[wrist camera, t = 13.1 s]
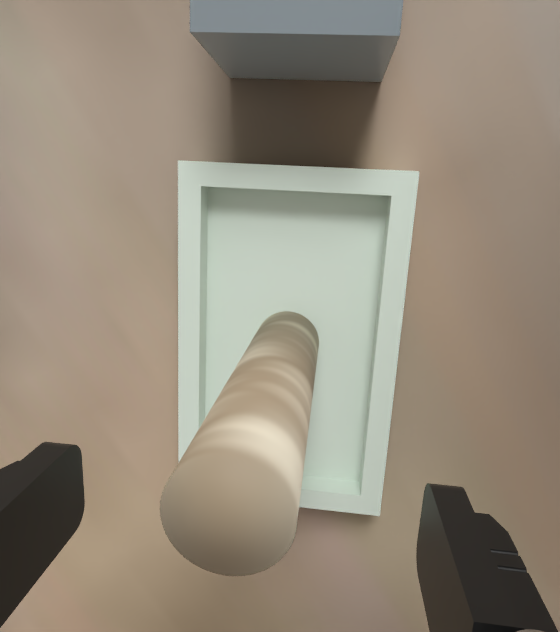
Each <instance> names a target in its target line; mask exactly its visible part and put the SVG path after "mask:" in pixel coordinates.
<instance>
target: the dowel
mask: <svg viewBox="0 0 560 632" xmlns="http://www.w3.org/2000/svg"><path fill="white" fill-rule="evenodd" d="M318 348H319V337H318V333H317V331H316V329H315V327H314V325H313V324H312V323H311V322H310V321H309V320H308V319H307V318H306V317H304V316H303V315H301V314H298V313H295V312H290V311H284V312H278V313H275V314H273V315H271V316H269V317H268V318H267V319H266V320H265V321H264V322H263V323H262V324H261V326H260V327H259V329H258V331H257V332H256V334H255V336H254V337H253V339H252V341H251V343H250V344H249V346H248V348H247V349H246V351H245V353H244V354H243V356H242V358H241V359H240V361H239V363H238V364H237V366H236V368H235V369H234V371H233V373H232V374H231V376H230V378H229V379H228V381H227V383H226V384H225V386H224V388H223V389H222V391H221V393H220V394H219V396H218V398H217V399H216V401H215V403H214V404H213V406H212V408H211V409H210V411H209V413H208V415H207V416H206V418H205V420H204V421H203V423H202V425H201V426H200V428H199V430H198V431H197V433H196V435H195V436H194V438H193V440H192V441H191V443H190V445H189V446H188V448H187V450H186V451H185V453H184V455H183V456H182V458H181V460H180V461H179V463H178V465H177V466H176V468H175V470H174V471H173V473H172V475H171V476H170V478H169V480H168V482H167V483H166V485H165V487H164V490H163V492H162V496H161V501H160V516H161V521H162V525H163V528H164V530H165V533H166V535H167V537H168V538H169V540H170V542H171V543H172V544H173V546H174V547H175V548H176V549H177V550H178V552H179V553H180V554H181V555H183V556H184V557H185V558H186V559H187V560H189V561H190V562H192V563H193V564H195V565H197V566H198V567H200V568H202V569H205V570H207V571H210V572H213V573H216V574H221V575H226V576H245V575H251V574H255V573H258V572H261V571H264V570H266V569H268V568H270V567H271V566H273V565H275V564H276V563H277V562H278V561H279V560H281V559H282V557H283V556H284V555H285V554H286V553H287V551H288V550H289V548H290V547H291V545H292V543H293V541H294V537H295V534H296V528H297V520H298V512H299V503H300V495H301V487H302V479H303V471H304V462H305V454H306V446H307V438H308V430H309V421H310V413H311V405H312V397H313V389H314V380H315V372H316V364H317V356H318Z"/></svg>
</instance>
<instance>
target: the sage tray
mask: <svg viewBox="0 0 560 632" xmlns="http://www.w3.org/2000/svg"><path fill="white" fill-rule="evenodd" d="M418 180H419V171H400V170H378V169H356V168H334V167H311V166H289V165H267V164H245V163H222V162H200V161H178V435H179V461H180V460H181V458H182V456H183V455H184V453H185V451H186V450H187V448H188V446H189V445H190V443H191V441H192V440H193V438H194V436H195V435H196V433H197V431H198V430H199V428H200V426H201V425H202V423H203V421H204V420H205V418H206V416H207V415H208V413H209V411H210V409H211V408H212V406H213V404H214V403H215V401H216V399H217V398H218V396H219V394H220V393H221V391H222V389H223V388H224V386H225V384H226V383H227V381H228V379H229V378H230V376H231V374H232V373H233V371H234V369H235V368H236V366H237V364H238V363H239V361H240V359H241V358H242V356H243V354H244V353H245V351H246V349H247V348H248V346H249V344H250V343H251V341H252V339H253V337H254V336H255V334H256V332H257V331H258V329H259V327H260V326H261V324H262V323H263V322H264V321H265V320H266V319H267V318H268V317H269V316H271V315H273V314H275V313H278V312H284V311H290V312H295V313H298V314H301V315H303V316H304V317H306V318H307V319H308V320H309V321H310V322H311V323H312V324H313V325H314V327H315V329H316V331H317V333H318V337H319V348H318V356H317V364H316V372H315V380H314V389H313V397H312V405H311V413H310V421H309V430H308V438H307V446H306V454H305V462H304V471H303V479H302V487H301V495H300V503H299V507H303V508H312V509H321V510H330V511H338V512H347V513H356V514H365V515H374V516H380V509H381V501H382V492H383V483H384V475H385V466H386V457H387V449H388V440H389V431H390V423H391V414H392V405H393V396H394V388H395V379H396V370H397V362H398V353H399V344H400V336H401V327H402V318H403V310H404V301H405V292H406V284H407V275H408V266H409V258H410V249H411V240H412V232H413V223H414V214H415V206H416V197H417V188H418Z"/></svg>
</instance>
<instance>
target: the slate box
mask: <svg viewBox="0 0 560 632" xmlns="http://www.w3.org/2000/svg"><path fill="white" fill-rule="evenodd" d="M402 7H403V0H190V33H191V34H192V35H193V36H194V37H195V38H196V39H197V41H198V42H199V43H200V44H201V45H202V46H203V48H204V49H205V50H206V51H207V52H208V53H209V54H210V56H211V57H212V58H213V59H214V60H215V61H216V63H217V64H218V65H219V66H220V67H221V68H222V70H223V71H224V72H225V73H226V74H227V75H228V76H229V78H254V79H290V80H327V81H363V82H382V79H383V76H384V74H385V71H386V69H387V66H388V64H389V61H390V59H391V56H392V54H393V51H394V49H395V46H396V44H397V41H398V39H399V36H400V28H401V17H402Z"/></svg>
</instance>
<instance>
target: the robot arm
mask: <svg viewBox="0 0 560 632" xmlns="http://www.w3.org/2000/svg"><path fill="white" fill-rule="evenodd" d="M84 504H85V503H84V485H83V470H82V455H81V450H80V448H79V447H78V446H77V445H71V444H61V443H52V442H44V443H42V444H40V445H39V446H38V447H37V448H35V449H34V450H33V451H32V452H31V453H29V454H28V455H27V456H26V457H25V458H24V459H22V460H21V461H16V462H14V463H12V464H10V465H8V466H6V467H4V468H2V469H0V628H1V626H2V625H3V624H4V622H5V621H6V620H7V619H8V617H9V616H10V615H11V613H12V612H13V611H14V610H15V608H16V607H17V606H18V605H19V603H20V602H21V601H22V599H23V598H24V597H25V596H26V594H27V593H28V592H29V590H30V589H31V588H32V587H33V585H34V584H35V583H36V581H37V580H38V579H39V578H40V576H41V575H42V574H43V573H44V571H45V570H46V569H47V567H48V566H49V565H50V564H51V562H52V561H53V560H54V558H55V557H56V556H57V555H58V553H59V552H60V551H61V550H62V548H63V547H64V546H65V544H66V543H67V542H68V541H69V539H70V538H71V537H72V535H73V534H74V533H75V531H76V530H77V528H78V527H79V524H80V522H81V519H82V516H83V512H84ZM416 557H417V572H418V578H419V583H420V587H421V592H422V597H423V602H424V606H425V611H426V616H427V621H428V625H429V630H430V632H558V630H557V628H556V626H555V624H554V622H553V620H552V618H551V616H550V614H549V612H548V610H547V608H546V606H545V604H544V603H543V601H542V599H541V597H540V595H539V593H538V591H537V589H536V587H535V585H534V583H533V581H532V579H531V577H530V575H529V573H527V571H526V567H525V565H524V563H523V561H522V559H521V557H520V556H518V551H517V549H516V547H515V545H514V543H513V541H512V539H511V537H510V535H509V533H508V532H507V531H506V530H505V529H504V528H503V527H502V526H501V525H500V524H499V523H498V522H497V521H496V520H495V519H494V518H493V517H492V516H490V515H489V514H482V513H474V510H473V508H472V506H471V503H470V501H469V499H468V496H467V494H466V492H465V490H464V488H463V487H457V486H448V485H438V484H429V483H428V484H427V485H426V487H425V491H424V497H423V504H422V511H421V518H420V526H419V533H418V540H417V556H416Z"/></svg>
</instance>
